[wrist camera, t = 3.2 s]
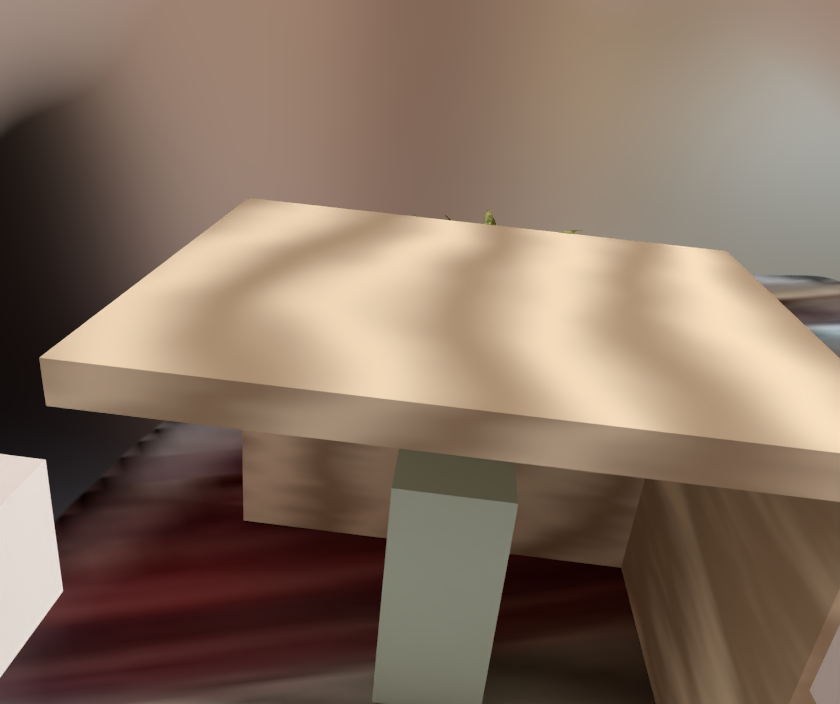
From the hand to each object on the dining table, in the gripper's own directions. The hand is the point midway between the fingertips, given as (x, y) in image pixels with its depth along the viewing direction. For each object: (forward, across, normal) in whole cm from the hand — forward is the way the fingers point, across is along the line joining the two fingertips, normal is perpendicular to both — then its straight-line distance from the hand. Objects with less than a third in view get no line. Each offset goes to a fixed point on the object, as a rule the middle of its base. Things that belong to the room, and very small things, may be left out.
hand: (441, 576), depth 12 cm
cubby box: (+17, +1, -20) cm, 27 cm away
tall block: (+17, +1, -21) cm, 27 cm away
